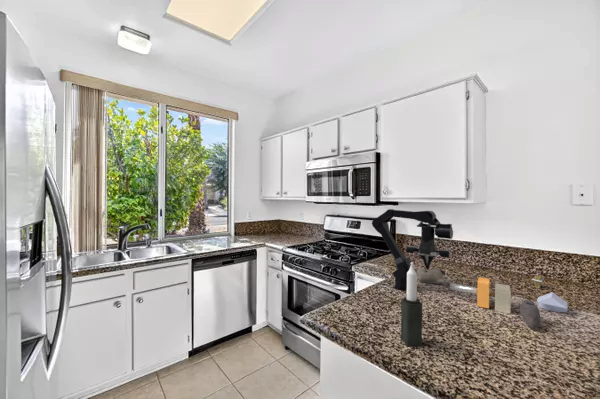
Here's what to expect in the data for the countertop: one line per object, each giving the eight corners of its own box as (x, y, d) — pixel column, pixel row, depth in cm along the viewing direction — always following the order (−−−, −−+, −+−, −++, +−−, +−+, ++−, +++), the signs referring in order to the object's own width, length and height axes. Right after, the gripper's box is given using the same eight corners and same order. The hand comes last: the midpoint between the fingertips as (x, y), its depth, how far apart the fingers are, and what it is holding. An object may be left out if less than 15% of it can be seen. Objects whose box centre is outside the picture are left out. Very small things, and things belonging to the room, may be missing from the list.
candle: (399, 338, 86) (400, 260, 86) (414, 337, 86) (415, 260, 86) (407, 346, 81) (408, 264, 81) (423, 346, 81) (424, 264, 81)
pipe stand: (448, 302, 117) (448, 282, 117) (452, 294, 128) (452, 275, 128) (510, 315, 104) (510, 292, 104) (509, 305, 115) (509, 284, 115)
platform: (520, 288, 140) (520, 276, 140) (525, 281, 152) (525, 270, 152) (552, 294, 131) (552, 281, 131) (554, 286, 143) (554, 274, 143)
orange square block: (477, 306, 112) (477, 282, 112) (478, 299, 120) (478, 277, 120) (488, 308, 110) (489, 284, 110) (489, 301, 118) (489, 278, 118)
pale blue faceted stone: (567, 317, 104) (567, 308, 113) (567, 300, 104) (567, 292, 113) (536, 310, 110) (539, 302, 119) (536, 294, 110) (539, 287, 119)
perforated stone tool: (543, 334, 89) (543, 314, 90) (523, 330, 93) (523, 310, 93) (537, 319, 102) (537, 301, 102) (519, 315, 105) (519, 297, 105)
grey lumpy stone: (429, 298, 143) (456, 287, 139) (422, 289, 140) (450, 277, 135) (418, 276, 158) (443, 265, 153) (412, 267, 154) (436, 255, 149)
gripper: (403, 236, 126) (402, 269, 126) (447, 240, 115) (447, 276, 115) (409, 234, 135) (408, 265, 135) (450, 237, 124) (450, 271, 124)
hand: (427, 269), depth 127 cm, fingers closed
